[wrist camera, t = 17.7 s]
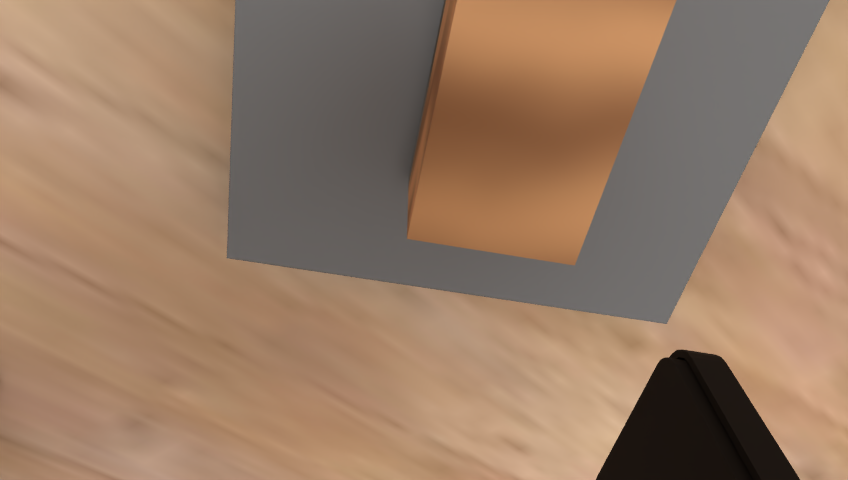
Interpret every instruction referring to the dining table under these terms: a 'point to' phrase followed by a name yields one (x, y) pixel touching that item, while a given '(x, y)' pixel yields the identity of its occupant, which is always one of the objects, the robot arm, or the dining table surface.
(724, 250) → the dining table surface
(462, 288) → the board
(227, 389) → the dining table surface
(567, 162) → the block
